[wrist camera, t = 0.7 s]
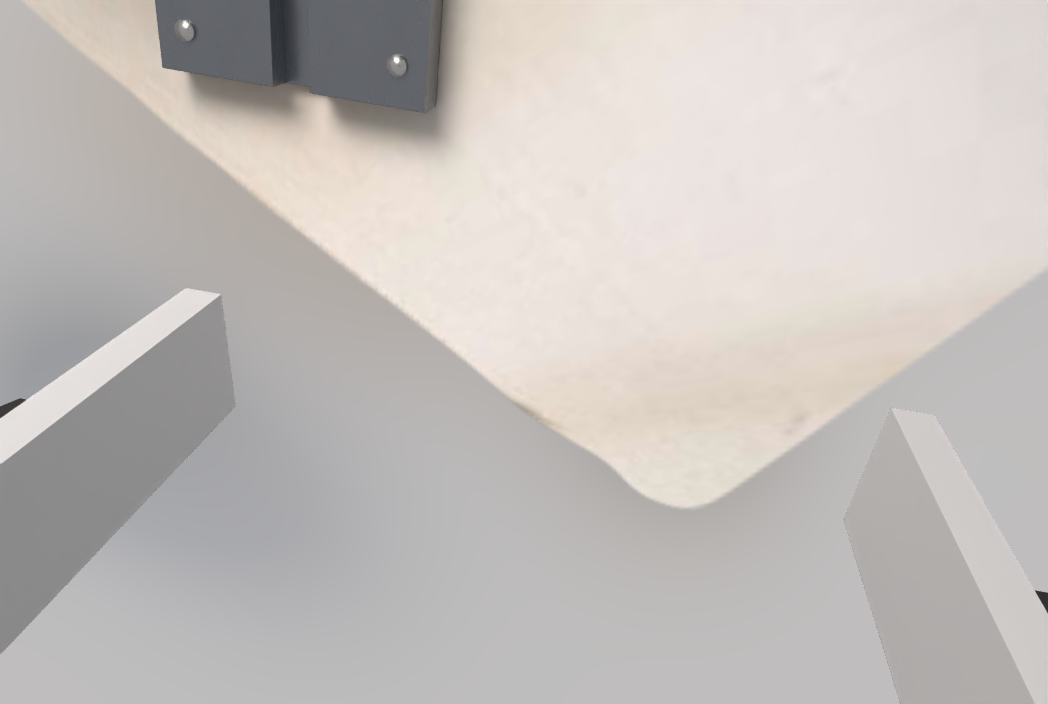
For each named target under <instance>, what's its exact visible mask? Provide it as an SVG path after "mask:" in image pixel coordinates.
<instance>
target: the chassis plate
mask: <svg viewBox="0 0 1048 704" xmlns="http://www.w3.org/2000/svg"><path fill="white" fill-rule="evenodd" d="M442 3H443V0H155V4H156V13H157V22H158V31H159V40H160V48H161V57H162V66H163V68H167V69H173V70H178V71H184V72H190V73H196V74H202V75H208V76H213V77H219V78H225V79H231V80H237V81H243V82H248V83H254V84H260V85H266V86H272V87H274V86H277V85H280V84H283V83H286V82H287V83H293V84H299V85H305V86H310V93H313V94H318V95H324V96H330V97H336V98H342V99H347V100H353V101H359V102H365V103H371V104H377V105H382V106H388V107H394V108H400V109H406V110H412V111H417V112H423V113H425V112H427V111H428V110H430V109H431V108H433V107H435V106H436V95H437V80H438V64H439V49H440V34H441V18H442Z"/></svg>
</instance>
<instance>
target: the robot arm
mask: <svg viewBox="0 0 1048 704" xmlns="http://www.w3.org/2000/svg"><path fill="white" fill-rule="evenodd" d="M235 406H236V405H235V398H234V390H233V382H232V374H231V366H230V359H229V351H228V343H227V336H226V327H225V320H224V312H223V305H222V296H221V294H217V293H210V292H205V291H199V290H193V289H187V288H186V289H184V290H183V291H181V292H180V293H178V294H177V295H176V296H174V297H173V298H171V299H170V300H169V301H167V302H166V303H164V304H163V305H161V306H160V307H159V308H157V309H156V310H154V311H153V312H151V313H150V314H149V315H147V316H146V317H144V318H143V319H142V320H140V321H139V322H137V323H136V324H135V325H133V326H131V327H130V328H129V329H127V330H126V331H124V332H123V333H122V334H120V335H119V336H117V337H116V338H114V339H113V340H111V341H110V342H109V343H107V344H106V345H104V346H103V347H102V348H100V349H99V350H97V351H96V352H94V353H93V354H92V355H90V356H89V357H87V358H86V359H84V360H83V361H82V362H80V363H79V364H77V365H76V366H74V367H73V368H72V369H70V370H69V371H67V372H66V373H64V374H63V375H62V376H60V377H59V378H57V379H56V380H55V381H53V382H52V383H50V384H49V385H47V386H46V387H44V388H43V389H42V390H40V391H39V392H37V393H36V394H34V395H33V396H32V397H30V398H29V399H27V400H25V399H17V400H15V401H13V402H10V403H8V404H5V405H3V406H0V654H1V653H2V652H3V651H4V650H5V649H6V648H7V647H8V646H9V645H10V644H11V643H12V642H13V641H14V639H16V637H17V636H18V635H19V634H20V633H21V632H22V631H23V630H24V629H25V628H26V627H27V626H28V625H29V624H30V623H31V622H32V621H33V620H34V618H35V617H36V616H37V615H38V614H39V613H40V612H41V611H42V610H43V609H44V608H45V607H46V606H47V605H48V604H49V603H50V602H51V601H52V600H53V599H54V597H55V596H56V595H57V594H58V593H59V592H60V591H61V590H62V589H63V588H64V587H65V586H66V585H67V584H68V583H69V582H70V580H72V578H73V577H74V576H75V575H76V574H77V573H78V572H79V571H80V570H81V569H82V568H83V567H84V566H85V565H86V564H87V563H88V562H89V561H90V559H91V558H92V557H93V556H94V555H95V554H96V553H97V552H98V551H99V550H100V549H101V548H102V547H103V546H104V545H105V543H107V542H108V540H109V539H110V538H111V537H112V536H113V535H114V534H115V533H116V532H117V531H118V530H119V529H120V527H122V526H123V525H124V523H126V521H127V520H128V519H129V518H130V517H131V516H132V515H133V514H134V513H135V512H136V511H137V510H138V509H139V508H140V507H141V506H142V505H143V503H144V502H145V501H146V500H147V499H148V498H149V497H150V496H151V495H152V494H153V493H154V492H155V491H156V490H157V489H158V488H159V487H160V486H161V485H162V484H163V482H164V481H165V480H166V479H167V478H168V477H169V476H170V475H171V474H172V473H173V472H174V471H175V470H176V469H177V468H178V466H180V464H181V463H182V462H183V461H184V460H185V459H186V458H187V457H188V456H189V455H190V454H191V453H192V452H193V451H194V450H195V449H196V448H197V447H198V446H199V444H200V443H201V442H202V441H203V440H204V439H205V438H206V437H207V436H208V435H209V434H210V433H211V432H212V431H213V430H214V429H215V427H217V425H218V424H219V423H220V422H221V421H222V420H223V419H224V418H225V417H226V416H227V415H228V414H229V413H230V412H231V411H232V410H233V408H235ZM844 523H845V526H846V530H847V533H848V536H849V539H850V542H851V546H852V549H853V552H854V555H855V559H856V562H857V565H858V568H859V572H860V575H861V578H862V581H863V585H864V588H865V591H866V594H867V598H868V601H869V604H870V607H871V610H872V614H873V617H874V620H875V624H876V627H877V630H878V633H879V637H880V640H881V643H882V646H883V650H884V653H885V656H886V659H887V663H888V666H889V669H890V672H891V676H892V679H893V682H894V685H895V689H896V692H897V695H898V698H899V702H900V704H1048V593H1046V592H1040V591H1035V590H1034V589H1033V587H1032V585H1031V583H1030V582H1029V580H1028V578H1027V576H1026V575H1025V573H1024V571H1023V569H1022V568H1021V566H1020V564H1019V562H1018V561H1017V559H1016V557H1015V555H1014V554H1013V552H1012V550H1011V548H1010V547H1009V545H1008V543H1007V542H1006V540H1005V538H1004V536H1003V534H1002V533H1001V531H1000V529H999V527H998V526H997V524H996V522H995V521H994V519H993V517H992V515H991V513H990V512H989V510H988V508H987V507H986V505H985V503H984V501H983V499H982V498H981V496H980V494H979V492H978V491H977V489H976V487H975V486H974V484H973V482H972V480H971V479H970V477H969V475H968V473H967V472H966V470H965V468H964V466H963V465H962V463H961V461H960V459H959V458H958V456H957V454H956V452H955V451H954V449H953V447H952V445H951V444H950V442H949V440H948V439H947V437H946V435H945V433H944V431H943V430H942V428H941V426H940V425H939V423H938V421H937V419H936V417H935V416H934V415H931V414H925V413H918V412H912V411H907V410H901V409H895V408H891V409H890V411H889V413H888V416H887V418H886V420H885V423H884V425H883V427H882V430H881V432H880V435H879V437H878V439H877V442H876V444H875V446H874V449H873V451H872V453H871V456H870V458H869V461H868V463H867V465H866V467H865V470H864V472H863V475H862V477H861V479H860V482H859V484H858V486H857V489H856V491H855V494H854V496H853V498H852V501H851V503H850V505H849V508H848V510H847V512H846V515H845V517H844Z"/></svg>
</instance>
